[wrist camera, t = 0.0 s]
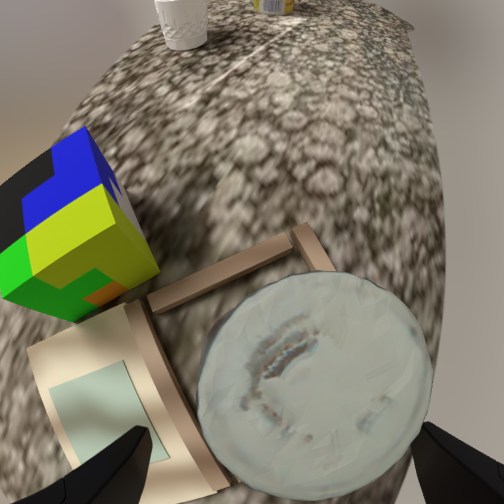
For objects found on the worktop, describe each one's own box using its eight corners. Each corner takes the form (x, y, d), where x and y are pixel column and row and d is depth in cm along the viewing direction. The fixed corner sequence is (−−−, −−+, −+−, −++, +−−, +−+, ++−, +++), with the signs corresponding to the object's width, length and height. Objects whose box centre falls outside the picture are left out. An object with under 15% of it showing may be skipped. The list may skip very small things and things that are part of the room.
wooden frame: (395, 397, 21) (403, 399, 20) (104, 512, 17) (98, 518, 15) (301, 224, 27) (304, 217, 25) (31, 349, 22) (22, 347, 21)
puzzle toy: (125, 190, 28) (85, 125, 19) (161, 272, 25) (115, 223, 16) (50, 237, 26) (-7, 191, 17) (73, 322, 23) (2, 298, 14)
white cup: (166, 36, 40) (157, -10, 30) (210, 29, 40) (206, -18, 31) (161, 56, 37) (149, 4, 27) (211, 49, 37) (206, -5, 28)
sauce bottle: (216, 327, 24) (100, 210, 5) (291, 312, 24) (411, 159, 5) (232, 405, 21) (168, 557, 3) (308, 388, 22) (488, 457, 3)
